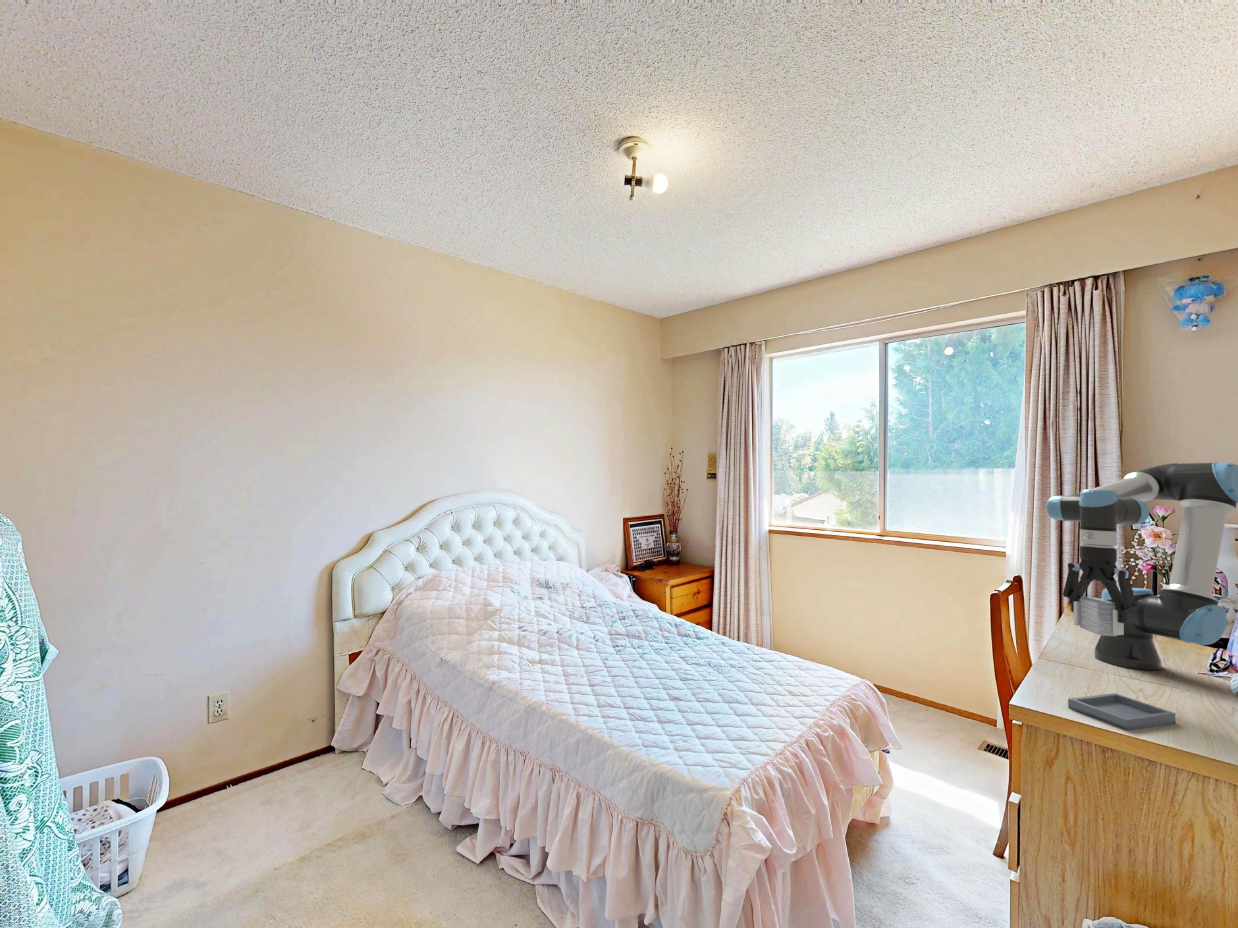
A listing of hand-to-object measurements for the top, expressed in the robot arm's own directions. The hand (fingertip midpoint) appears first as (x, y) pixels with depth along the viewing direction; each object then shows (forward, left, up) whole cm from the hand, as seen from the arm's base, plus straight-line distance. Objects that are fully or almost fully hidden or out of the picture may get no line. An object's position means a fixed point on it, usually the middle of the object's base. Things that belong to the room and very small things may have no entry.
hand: (1097, 629), depth 144 cm
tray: (+14, +14, -16) cm, 25 cm away
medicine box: (0, 0, -1) cm, 1 cm away
